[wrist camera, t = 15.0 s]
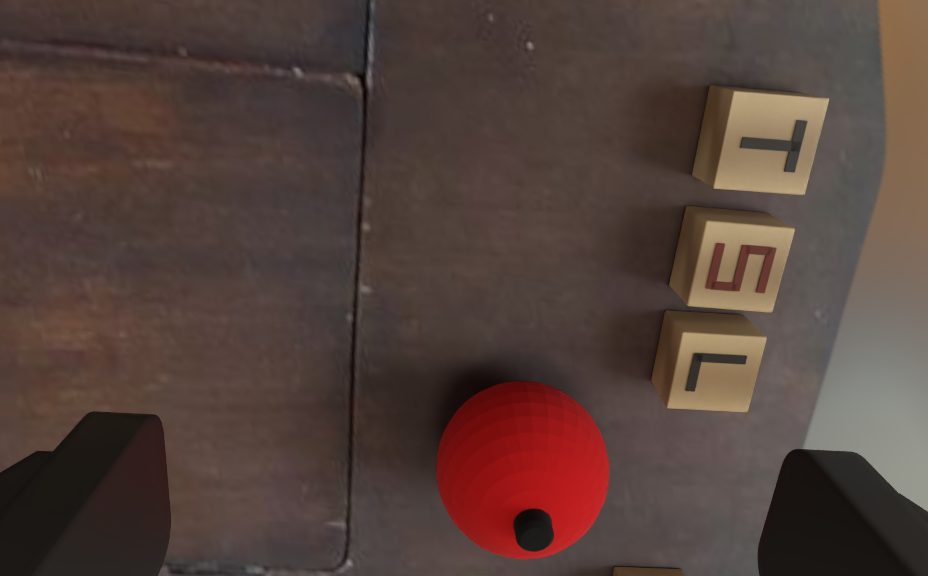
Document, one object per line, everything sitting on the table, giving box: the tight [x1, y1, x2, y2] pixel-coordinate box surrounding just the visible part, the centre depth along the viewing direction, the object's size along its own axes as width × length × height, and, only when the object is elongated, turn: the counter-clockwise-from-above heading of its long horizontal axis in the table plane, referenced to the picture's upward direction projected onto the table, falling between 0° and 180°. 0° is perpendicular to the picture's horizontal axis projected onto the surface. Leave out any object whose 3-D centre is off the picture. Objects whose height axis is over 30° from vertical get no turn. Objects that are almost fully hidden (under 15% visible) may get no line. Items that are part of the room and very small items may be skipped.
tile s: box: [669, 206, 795, 312], centre depth 36 cm, size 4×4×3 cm
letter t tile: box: [692, 85, 829, 195], centre depth 33 cm, size 4×4×3 cm
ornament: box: [436, 381, 609, 559], centre depth 36 cm, size 9×9×10 cm
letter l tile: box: [651, 310, 767, 412], centre depth 38 cm, size 4×4×3 cm
